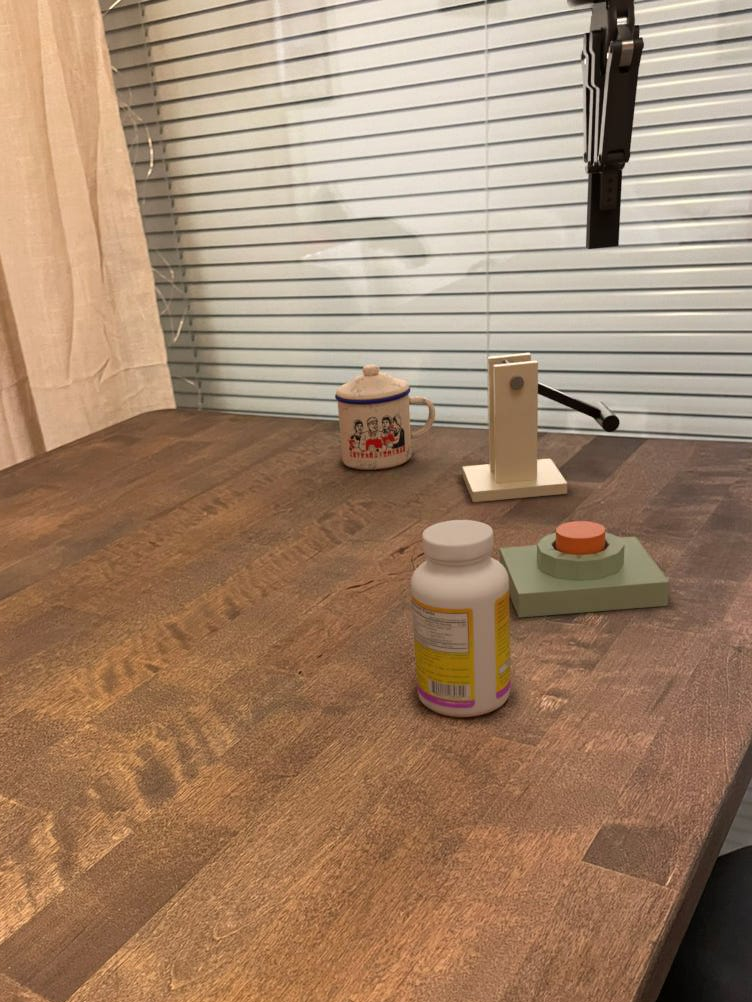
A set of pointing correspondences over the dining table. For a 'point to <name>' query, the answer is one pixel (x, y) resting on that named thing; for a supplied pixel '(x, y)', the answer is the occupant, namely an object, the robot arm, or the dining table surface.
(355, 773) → the dining table surface
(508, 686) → the supplement bottle
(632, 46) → the robot arm
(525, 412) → the lever stand
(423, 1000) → the dining table surface
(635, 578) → the button box
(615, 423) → the black lever
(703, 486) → the dining table surface
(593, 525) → the button
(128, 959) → the dining table surface
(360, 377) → the teacup with lid
